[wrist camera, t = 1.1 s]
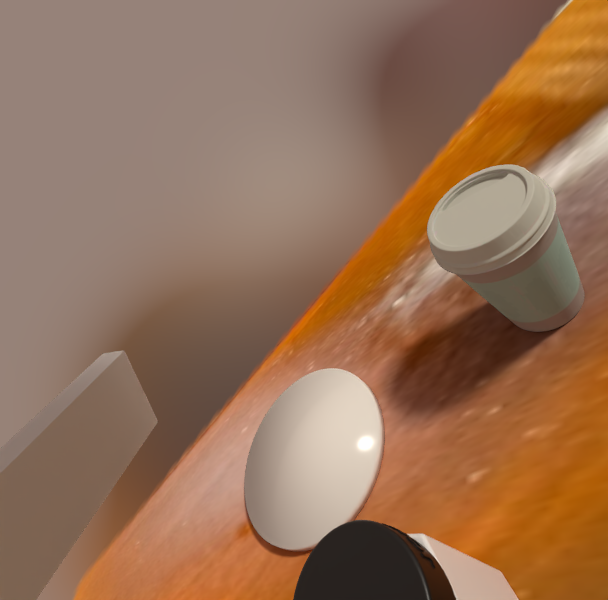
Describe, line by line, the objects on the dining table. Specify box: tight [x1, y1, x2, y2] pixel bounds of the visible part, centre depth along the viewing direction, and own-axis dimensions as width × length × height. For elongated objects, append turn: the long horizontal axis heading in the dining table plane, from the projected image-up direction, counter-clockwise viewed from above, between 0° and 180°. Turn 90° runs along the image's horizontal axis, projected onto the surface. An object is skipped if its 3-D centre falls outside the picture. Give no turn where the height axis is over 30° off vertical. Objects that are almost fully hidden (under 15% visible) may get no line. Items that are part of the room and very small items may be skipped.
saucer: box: [244, 368, 385, 552], centre depth 43 cm, size 18×18×1 cm
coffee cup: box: [427, 165, 584, 332], centre depth 32 cm, size 9×8×12 cm
